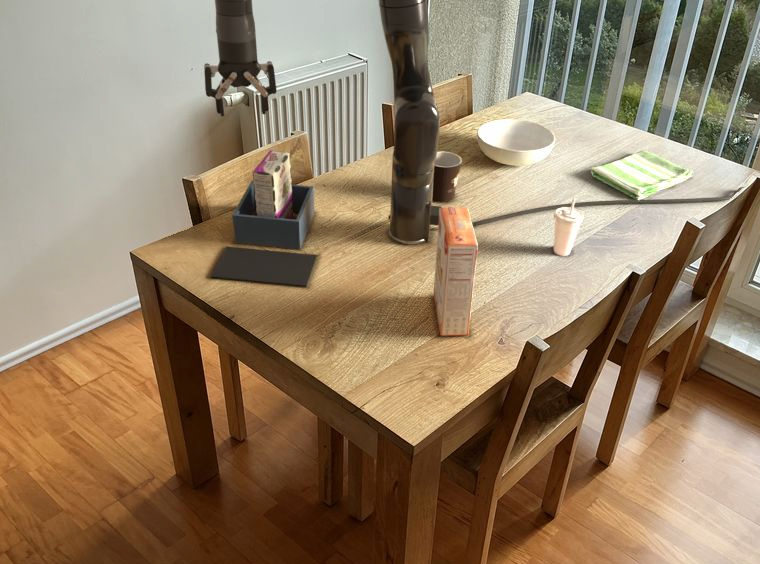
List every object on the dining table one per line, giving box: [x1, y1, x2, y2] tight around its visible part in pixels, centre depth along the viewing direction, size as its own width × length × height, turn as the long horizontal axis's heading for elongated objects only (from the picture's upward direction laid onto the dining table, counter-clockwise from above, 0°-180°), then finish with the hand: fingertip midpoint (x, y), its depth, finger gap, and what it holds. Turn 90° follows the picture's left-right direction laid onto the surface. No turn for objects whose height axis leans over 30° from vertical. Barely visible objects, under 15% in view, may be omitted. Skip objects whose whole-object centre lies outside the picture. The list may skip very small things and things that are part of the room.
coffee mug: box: [433, 150, 463, 204], centre depth 198 cm, size 12×9×10 cm
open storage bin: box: [231, 180, 315, 250], centre depth 182 cm, size 15×17×7 cm
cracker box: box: [433, 206, 479, 337], centre depth 154 cm, size 14×6×21 cm, turn 5°
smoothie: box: [553, 196, 584, 257], centre depth 178 cm, size 6×6×14 cm
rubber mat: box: [210, 246, 318, 288], centre depth 171 cm, size 20×12×1 cm, turn 85°
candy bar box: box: [252, 150, 295, 219], centre depth 179 cm, size 11×5×16 cm, turn 168°
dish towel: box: [590, 150, 694, 200], centre depth 214 cm, size 18×23×3 cm
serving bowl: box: [476, 118, 556, 167], centre depth 218 cm, size 21×21×7 cm
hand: (243, 113), depth 169 cm, fingers open, 8 cm apart
